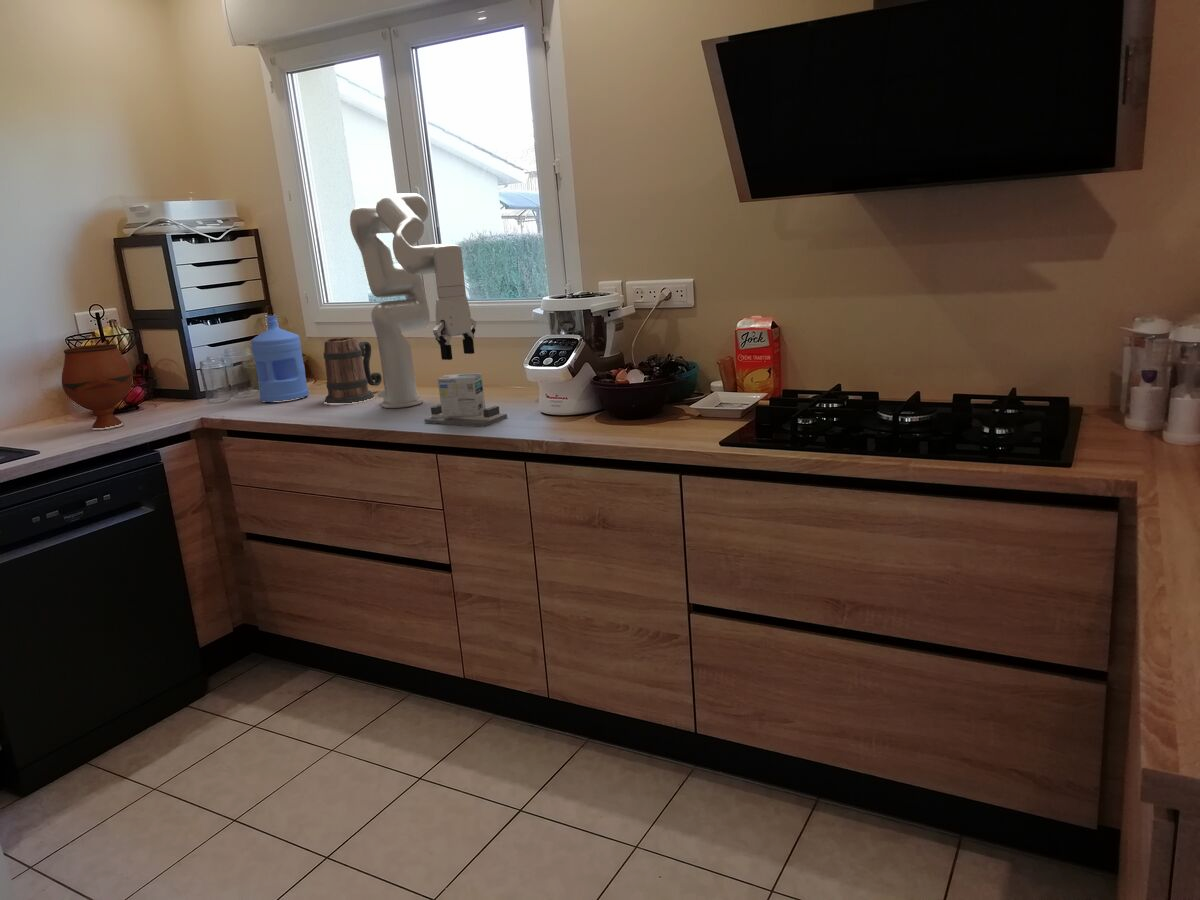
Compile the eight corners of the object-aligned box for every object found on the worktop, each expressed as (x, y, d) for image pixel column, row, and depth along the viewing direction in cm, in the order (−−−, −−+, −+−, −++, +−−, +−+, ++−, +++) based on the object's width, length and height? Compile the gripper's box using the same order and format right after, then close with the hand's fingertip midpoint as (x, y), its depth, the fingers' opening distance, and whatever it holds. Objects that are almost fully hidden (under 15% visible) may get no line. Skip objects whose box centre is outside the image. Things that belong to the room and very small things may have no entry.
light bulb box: (486, 410, 241) (482, 372, 238) (479, 416, 234) (474, 376, 232) (449, 412, 243) (445, 373, 240) (441, 417, 236) (436, 378, 233)
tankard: (350, 406, 272) (340, 342, 267) (311, 404, 280) (301, 342, 275) (400, 391, 292) (392, 332, 287) (362, 390, 300) (354, 332, 295)
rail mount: (424, 423, 239) (423, 409, 238) (449, 414, 248) (448, 401, 247) (483, 426, 230) (482, 412, 229) (507, 417, 239) (505, 403, 238)
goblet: (104, 435, 254) (85, 351, 248) (57, 434, 261) (38, 352, 255) (156, 420, 272) (140, 341, 265) (111, 420, 278) (94, 342, 272)
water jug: (275, 395, 302) (261, 314, 295) (317, 393, 300) (304, 312, 293) (251, 404, 288) (236, 320, 281) (295, 402, 285) (282, 317, 278)
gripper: (460, 289, 239) (466, 351, 244) (419, 296, 225) (426, 361, 229) (482, 289, 236) (488, 351, 240) (442, 295, 221) (449, 362, 226)
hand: (458, 356), depth 235 cm, fingers open, 9 cm apart
